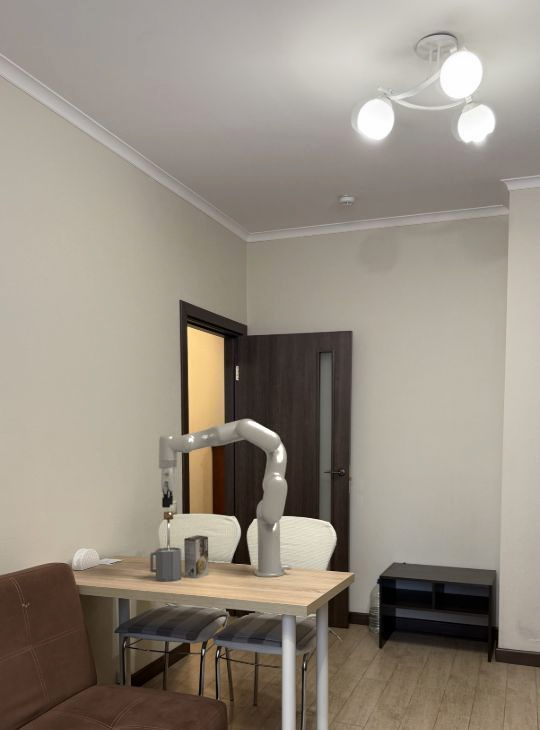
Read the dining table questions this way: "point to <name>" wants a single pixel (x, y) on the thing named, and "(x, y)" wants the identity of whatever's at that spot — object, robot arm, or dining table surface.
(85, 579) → the dining table surface
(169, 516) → the plunger
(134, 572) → the dining table surface
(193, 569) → the coffee box
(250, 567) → the dining table surface
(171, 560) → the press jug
